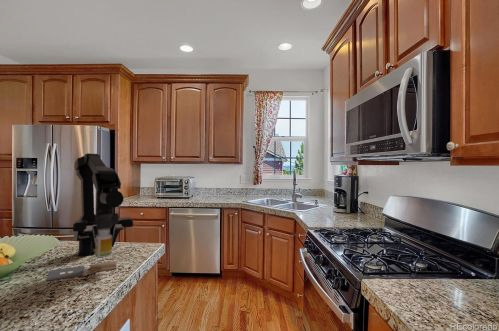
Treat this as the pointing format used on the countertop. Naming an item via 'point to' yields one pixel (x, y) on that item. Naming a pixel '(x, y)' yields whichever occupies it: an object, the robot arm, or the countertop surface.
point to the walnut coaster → (103, 266)
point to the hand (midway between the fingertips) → (103, 247)
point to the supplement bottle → (103, 243)
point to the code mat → (65, 273)
